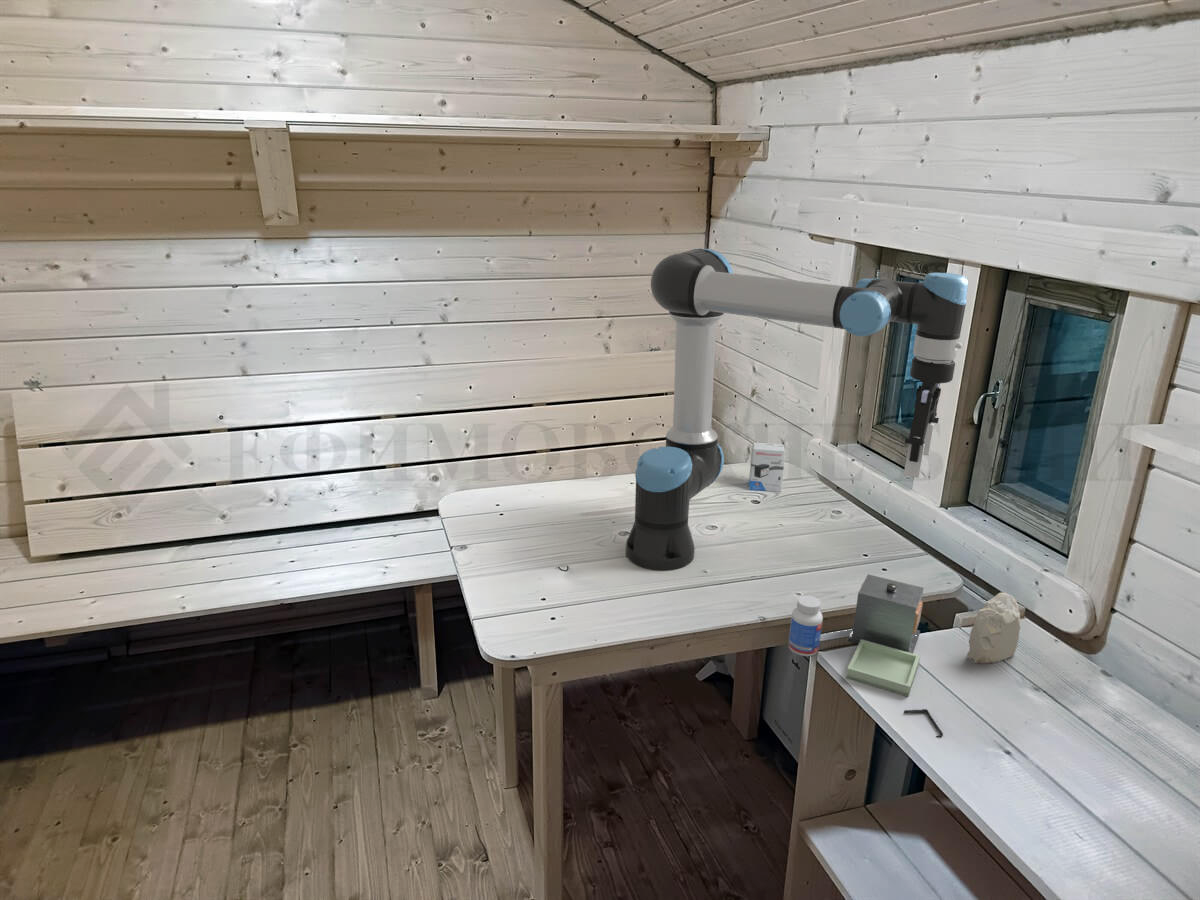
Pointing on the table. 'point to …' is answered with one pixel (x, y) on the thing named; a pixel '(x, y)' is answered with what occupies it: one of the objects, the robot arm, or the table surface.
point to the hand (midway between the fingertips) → (916, 464)
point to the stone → (995, 630)
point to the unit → (888, 613)
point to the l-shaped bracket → (928, 716)
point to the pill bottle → (806, 626)
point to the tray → (883, 667)
